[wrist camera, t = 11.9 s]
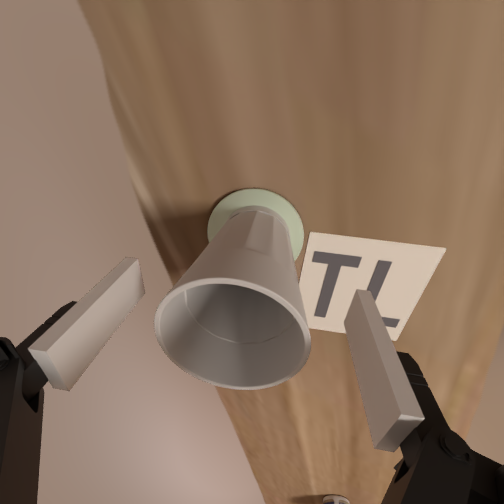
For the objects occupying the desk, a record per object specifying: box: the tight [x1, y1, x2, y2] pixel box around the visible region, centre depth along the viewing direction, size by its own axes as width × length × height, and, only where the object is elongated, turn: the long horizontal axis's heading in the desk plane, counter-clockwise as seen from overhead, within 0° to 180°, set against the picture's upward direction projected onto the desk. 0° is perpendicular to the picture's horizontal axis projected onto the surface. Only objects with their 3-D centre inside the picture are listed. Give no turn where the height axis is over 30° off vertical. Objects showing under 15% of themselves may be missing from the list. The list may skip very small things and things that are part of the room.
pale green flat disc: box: [207, 188, 304, 261], centre depth 23 cm, size 9×9×1 cm
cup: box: [154, 205, 311, 390], centre depth 17 cm, size 8×8×12 cm
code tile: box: [299, 232, 447, 341], centre depth 25 cm, size 12×12×1 cm
